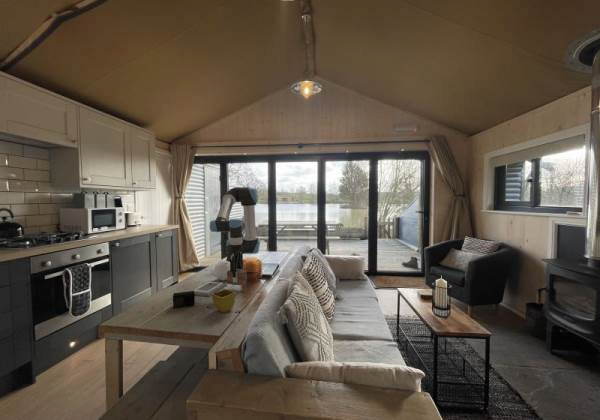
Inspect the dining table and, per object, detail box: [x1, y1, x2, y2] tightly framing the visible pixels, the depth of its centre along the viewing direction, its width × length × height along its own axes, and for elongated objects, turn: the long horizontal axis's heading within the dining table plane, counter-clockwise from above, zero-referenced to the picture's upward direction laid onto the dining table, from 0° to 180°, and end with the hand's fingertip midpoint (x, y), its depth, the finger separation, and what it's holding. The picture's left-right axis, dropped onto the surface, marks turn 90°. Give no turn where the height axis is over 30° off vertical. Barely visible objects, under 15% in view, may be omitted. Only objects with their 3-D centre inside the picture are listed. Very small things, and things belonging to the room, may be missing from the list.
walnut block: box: [226, 269, 248, 286], centre depth 170 cm, size 4×11×8 cm, turn 75°
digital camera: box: [172, 290, 196, 309], centre depth 146 cm, size 10×5×7 cm, turn 108°
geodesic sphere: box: [213, 260, 230, 281], centre depth 189 cm, size 14×14×14 cm
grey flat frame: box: [192, 281, 228, 297], centre depth 170 cm, size 20×14×2 cm
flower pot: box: [211, 288, 237, 314], centre depth 140 cm, size 9×9×9 cm
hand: (237, 280), depth 171 cm, fingers closed on walnut block, 4 cm apart
